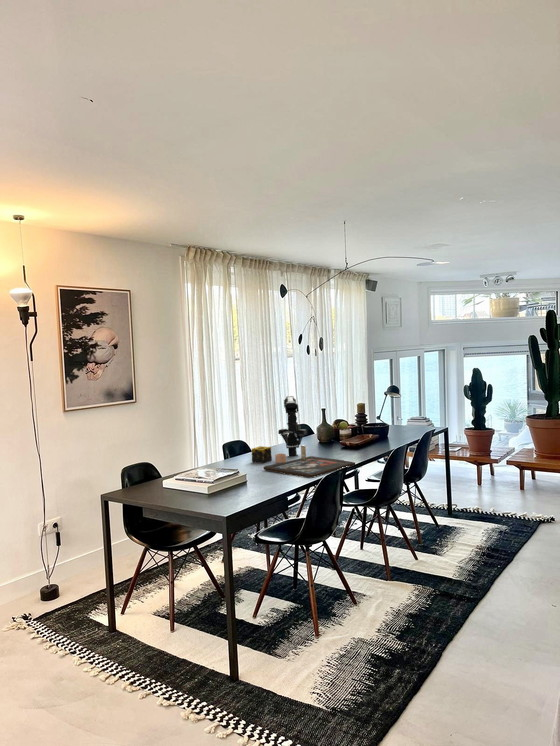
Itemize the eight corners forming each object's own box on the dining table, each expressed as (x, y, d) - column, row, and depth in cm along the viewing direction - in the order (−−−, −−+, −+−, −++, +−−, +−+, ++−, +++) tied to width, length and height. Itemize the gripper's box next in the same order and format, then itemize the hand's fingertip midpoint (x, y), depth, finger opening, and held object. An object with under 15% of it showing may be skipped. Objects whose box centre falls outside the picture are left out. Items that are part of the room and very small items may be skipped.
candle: (260, 460, 385) (259, 446, 385) (272, 461, 379) (271, 446, 379) (251, 463, 377) (250, 448, 376) (263, 464, 371) (262, 449, 370)
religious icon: (261, 471, 349) (261, 466, 349) (309, 459, 381) (309, 455, 381) (309, 479, 320) (308, 474, 320) (356, 466, 352) (356, 461, 352)
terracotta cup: (278, 461, 377) (278, 453, 377) (288, 461, 374) (287, 453, 374) (273, 463, 371) (273, 455, 371) (283, 463, 368) (282, 455, 367)
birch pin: (302, 460, 362) (302, 445, 361) (306, 460, 361) (306, 445, 360) (300, 461, 359) (300, 446, 359) (304, 461, 358) (304, 446, 357)
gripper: (310, 419, 366) (311, 443, 367) (285, 419, 375) (286, 442, 376) (302, 421, 356) (304, 446, 357) (277, 421, 365) (278, 445, 366)
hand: (293, 444), depth 364 cm, fingers open, 9 cm apart
